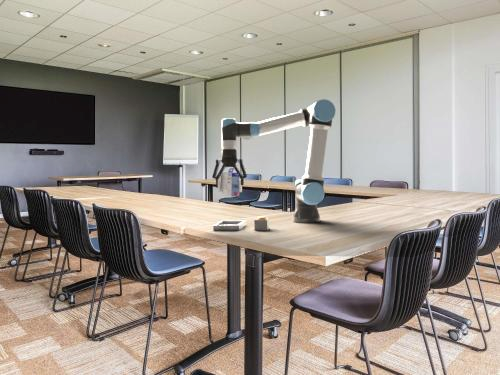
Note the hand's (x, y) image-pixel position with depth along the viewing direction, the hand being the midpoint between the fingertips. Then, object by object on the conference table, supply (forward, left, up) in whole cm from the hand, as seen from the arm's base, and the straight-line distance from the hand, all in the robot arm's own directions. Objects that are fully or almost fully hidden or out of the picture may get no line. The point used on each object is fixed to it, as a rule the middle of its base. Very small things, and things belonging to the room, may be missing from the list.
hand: (229, 191), depth 210 cm
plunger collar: (-17, +6, -18) cm, 26 cm away
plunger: (-17, +6, -17) cm, 25 cm away
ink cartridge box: (0, 0, -2) cm, 2 cm away
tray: (0, +1, -18) cm, 18 cm away
